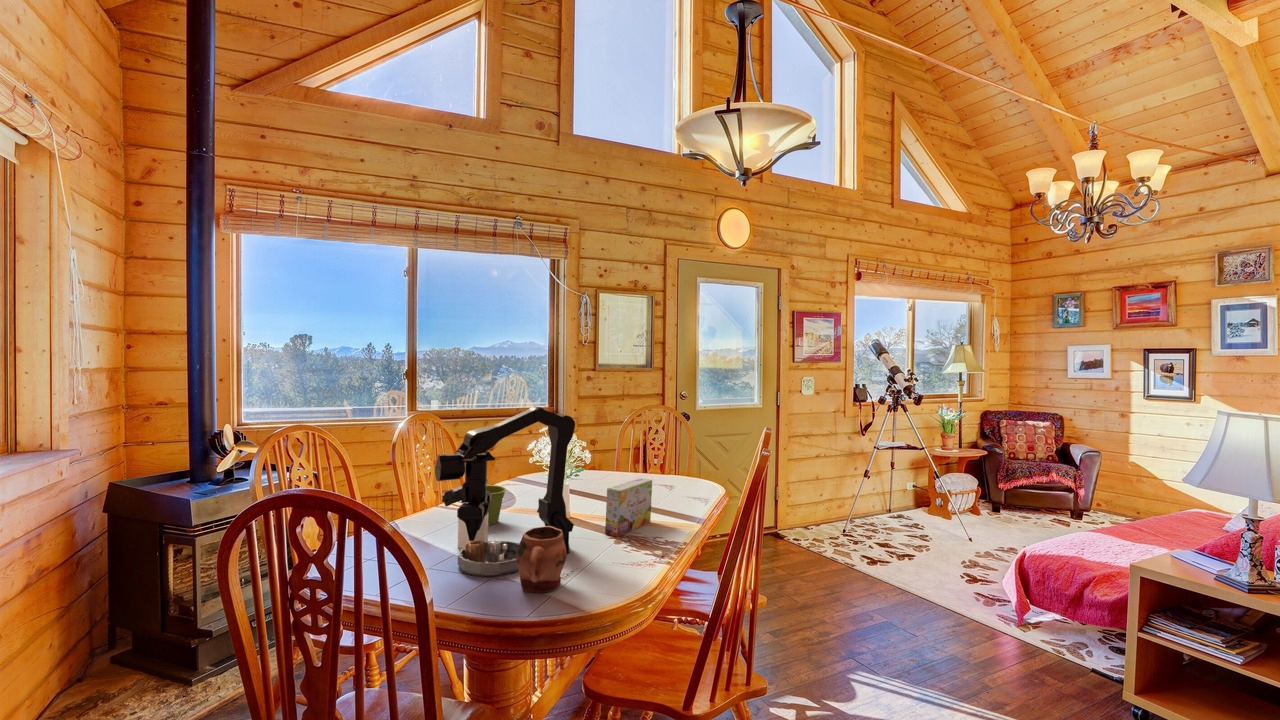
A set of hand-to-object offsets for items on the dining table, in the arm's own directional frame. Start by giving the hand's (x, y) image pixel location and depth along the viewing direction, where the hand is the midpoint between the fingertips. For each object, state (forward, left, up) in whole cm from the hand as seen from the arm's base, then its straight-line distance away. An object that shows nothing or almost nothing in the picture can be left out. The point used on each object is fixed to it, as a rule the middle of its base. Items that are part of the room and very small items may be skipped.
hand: (474, 535), depth 160 cm
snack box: (-45, -32, -8) cm, 56 cm away
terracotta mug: (-19, +17, -8) cm, 27 cm away
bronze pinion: (0, 0, -7) cm, 7 cm away
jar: (+3, -16, -8) cm, 18 cm away
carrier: (-5, 0, -8) cm, 10 cm away
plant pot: (+2, -40, -8) cm, 41 cm away
